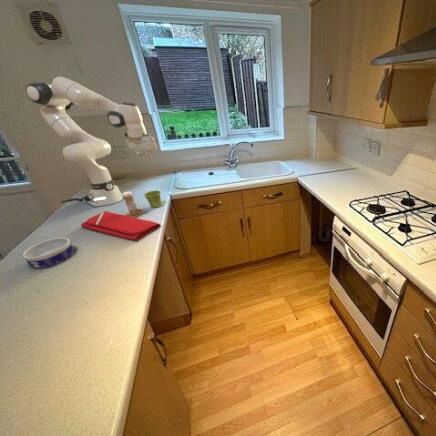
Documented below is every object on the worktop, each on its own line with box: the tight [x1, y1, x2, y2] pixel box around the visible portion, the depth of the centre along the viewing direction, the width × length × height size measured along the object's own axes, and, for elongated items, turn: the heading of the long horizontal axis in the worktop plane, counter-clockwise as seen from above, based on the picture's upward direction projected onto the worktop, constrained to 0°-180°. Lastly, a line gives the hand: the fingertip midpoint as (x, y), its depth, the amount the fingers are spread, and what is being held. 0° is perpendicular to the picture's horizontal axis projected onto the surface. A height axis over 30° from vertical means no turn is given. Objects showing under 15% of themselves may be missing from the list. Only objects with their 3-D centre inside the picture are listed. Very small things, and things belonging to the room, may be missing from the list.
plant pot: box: [143, 190, 163, 209], centre depth 150 cm, size 9×9×9 cm
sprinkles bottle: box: [121, 191, 139, 215], centre depth 140 cm, size 5×5×14 cm
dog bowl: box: [22, 237, 76, 270], centre depth 106 cm, size 15×15×6 cm
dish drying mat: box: [80, 210, 161, 241], centre depth 128 cm, size 16×41×4 cm, turn 69°
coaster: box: [123, 209, 147, 218], centre depth 143 cm, size 9×9×1 cm
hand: (145, 157), depth 146 cm, fingers open, 8 cm apart
